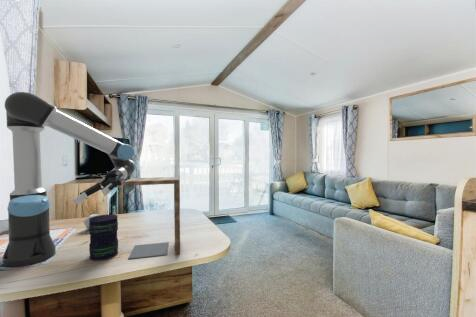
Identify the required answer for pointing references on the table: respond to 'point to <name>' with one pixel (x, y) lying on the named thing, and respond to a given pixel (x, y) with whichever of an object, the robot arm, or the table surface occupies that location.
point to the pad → (149, 250)
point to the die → (88, 220)
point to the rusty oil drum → (103, 237)
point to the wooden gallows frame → (131, 183)
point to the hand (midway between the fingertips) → (89, 197)
